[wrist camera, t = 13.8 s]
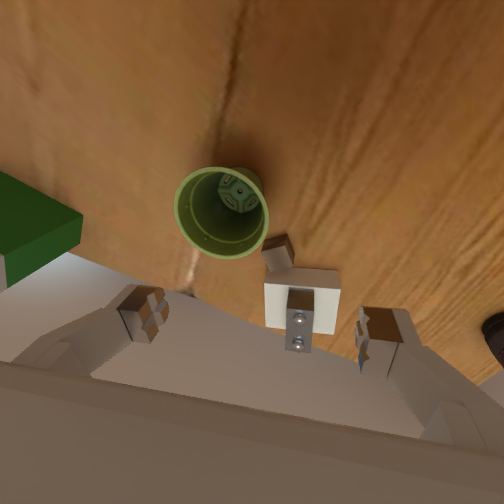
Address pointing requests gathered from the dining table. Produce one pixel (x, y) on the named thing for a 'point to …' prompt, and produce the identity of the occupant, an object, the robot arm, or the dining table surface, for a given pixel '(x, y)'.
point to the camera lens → (495, 336)
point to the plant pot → (222, 211)
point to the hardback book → (32, 230)
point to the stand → (316, 279)
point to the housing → (299, 319)
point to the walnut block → (278, 253)
